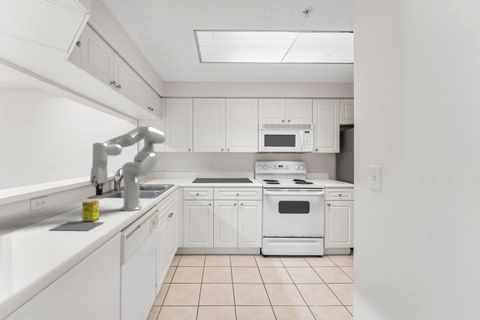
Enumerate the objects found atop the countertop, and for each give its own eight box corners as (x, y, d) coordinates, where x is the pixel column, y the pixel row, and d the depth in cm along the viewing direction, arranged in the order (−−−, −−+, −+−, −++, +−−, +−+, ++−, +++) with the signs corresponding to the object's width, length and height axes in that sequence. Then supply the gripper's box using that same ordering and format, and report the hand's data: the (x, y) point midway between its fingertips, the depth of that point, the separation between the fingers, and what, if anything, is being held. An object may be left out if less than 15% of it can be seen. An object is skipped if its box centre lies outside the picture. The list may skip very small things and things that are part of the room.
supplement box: (93, 222, 133) (93, 202, 132) (82, 222, 132) (82, 202, 132) (99, 219, 138) (99, 200, 138) (88, 219, 138) (88, 200, 138)
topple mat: (69, 222, 132) (69, 221, 132) (104, 222, 132) (104, 222, 132) (48, 230, 118) (48, 229, 118) (87, 231, 118) (87, 230, 118)
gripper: (100, 163, 151) (100, 193, 151) (85, 164, 136) (84, 197, 136) (113, 163, 151) (112, 193, 151) (98, 164, 136) (98, 197, 136)
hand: (99, 195), depth 143 cm, fingers closed
